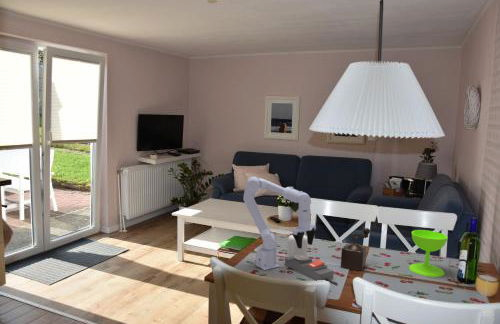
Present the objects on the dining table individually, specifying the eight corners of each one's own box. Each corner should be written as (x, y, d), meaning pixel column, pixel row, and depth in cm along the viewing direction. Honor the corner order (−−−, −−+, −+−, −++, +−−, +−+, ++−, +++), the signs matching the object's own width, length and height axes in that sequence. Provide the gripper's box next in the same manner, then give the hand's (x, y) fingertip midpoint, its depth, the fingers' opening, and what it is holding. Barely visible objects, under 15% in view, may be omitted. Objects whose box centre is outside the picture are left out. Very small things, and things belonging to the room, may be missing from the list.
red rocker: (314, 269, 181) (313, 267, 181) (308, 266, 184) (307, 264, 184) (324, 264, 184) (324, 262, 184) (318, 261, 188) (317, 259, 187)
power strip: (330, 287, 171) (331, 277, 171) (284, 264, 196) (285, 255, 196) (344, 283, 176) (344, 273, 176) (297, 262, 201) (298, 253, 201)
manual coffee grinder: (363, 271, 191) (365, 235, 189) (340, 267, 196) (342, 231, 194) (369, 262, 205) (371, 227, 203) (347, 258, 210) (349, 224, 208)
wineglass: (401, 266, 200) (404, 231, 198) (426, 263, 206) (429, 229, 204) (425, 278, 185) (429, 240, 184) (452, 274, 191) (455, 238, 189)
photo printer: (305, 256, 210) (306, 233, 209) (307, 259, 206) (308, 235, 205) (286, 256, 209) (287, 233, 207) (288, 259, 204) (289, 235, 203)
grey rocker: (299, 260, 189) (299, 257, 189) (293, 257, 192) (294, 255, 192) (308, 260, 193) (309, 258, 193) (303, 258, 196) (303, 255, 196)
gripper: (300, 222, 184) (300, 251, 185) (320, 217, 193) (321, 244, 194) (289, 220, 189) (289, 248, 190) (309, 214, 198) (309, 241, 200)
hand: (304, 246), depth 193 cm, fingers open, 7 cm apart
